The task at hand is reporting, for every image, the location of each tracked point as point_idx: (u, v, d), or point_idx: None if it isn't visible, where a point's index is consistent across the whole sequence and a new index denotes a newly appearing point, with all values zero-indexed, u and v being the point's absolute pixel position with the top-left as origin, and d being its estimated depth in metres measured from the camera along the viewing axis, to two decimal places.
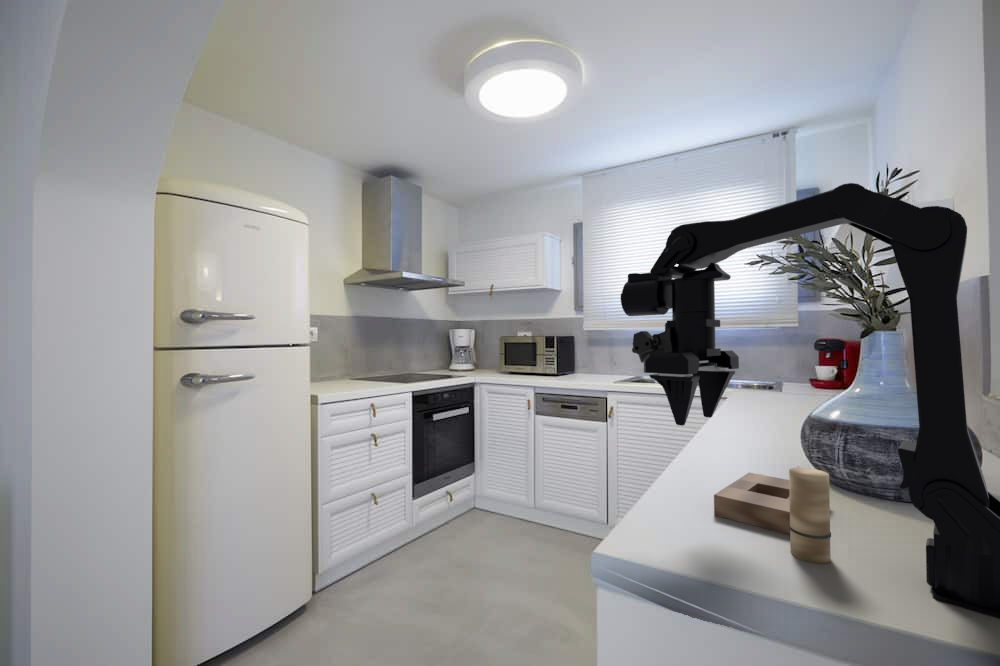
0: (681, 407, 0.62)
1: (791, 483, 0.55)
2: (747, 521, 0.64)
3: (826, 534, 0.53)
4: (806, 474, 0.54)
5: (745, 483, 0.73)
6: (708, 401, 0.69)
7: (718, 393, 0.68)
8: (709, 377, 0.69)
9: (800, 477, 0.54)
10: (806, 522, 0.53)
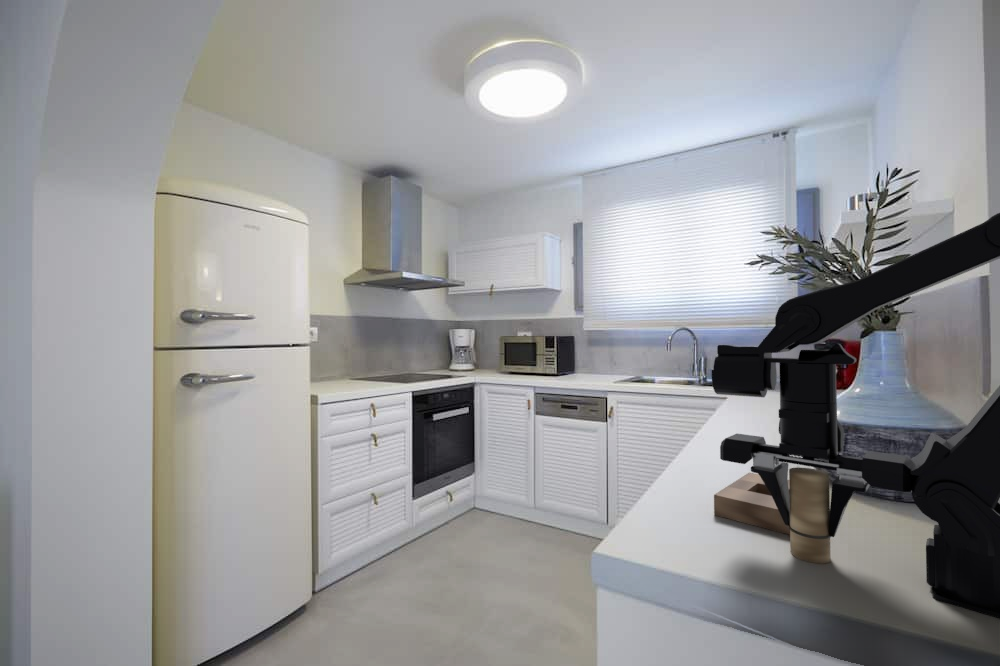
0: None
1: (791, 483, 0.55)
2: (747, 521, 0.64)
3: (826, 534, 0.53)
4: (806, 474, 0.54)
5: (745, 483, 0.73)
6: None
7: (830, 508, 0.52)
8: None
9: (800, 477, 0.54)
10: (806, 522, 0.53)
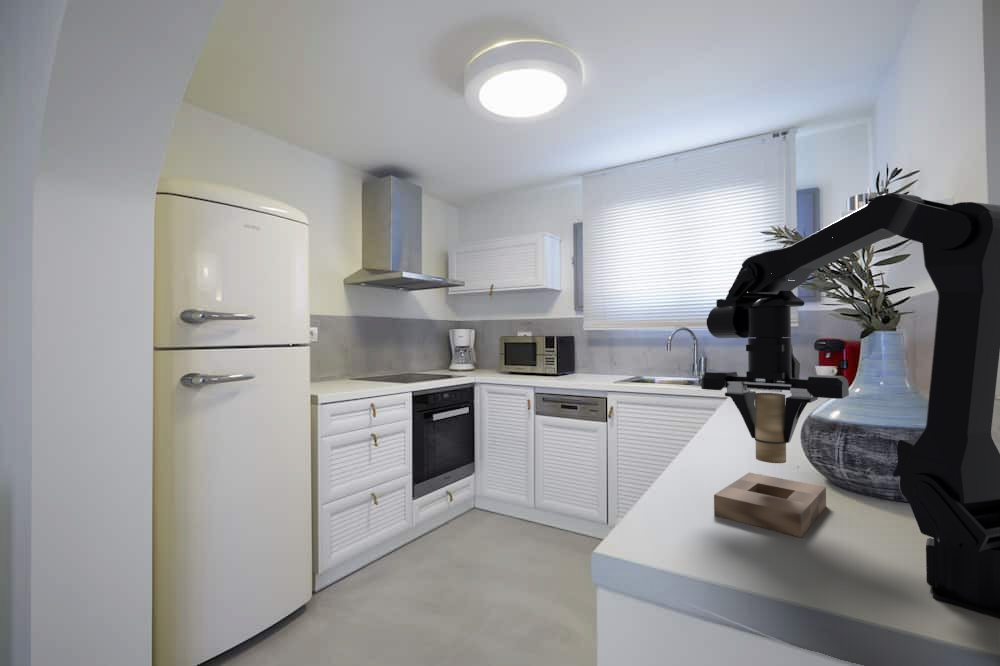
0: None
1: (756, 403, 0.70)
2: (747, 521, 0.64)
3: (782, 440, 0.67)
4: (767, 395, 0.69)
5: (745, 483, 0.73)
6: None
7: (785, 419, 0.67)
8: None
9: (763, 397, 0.68)
10: (767, 432, 0.68)
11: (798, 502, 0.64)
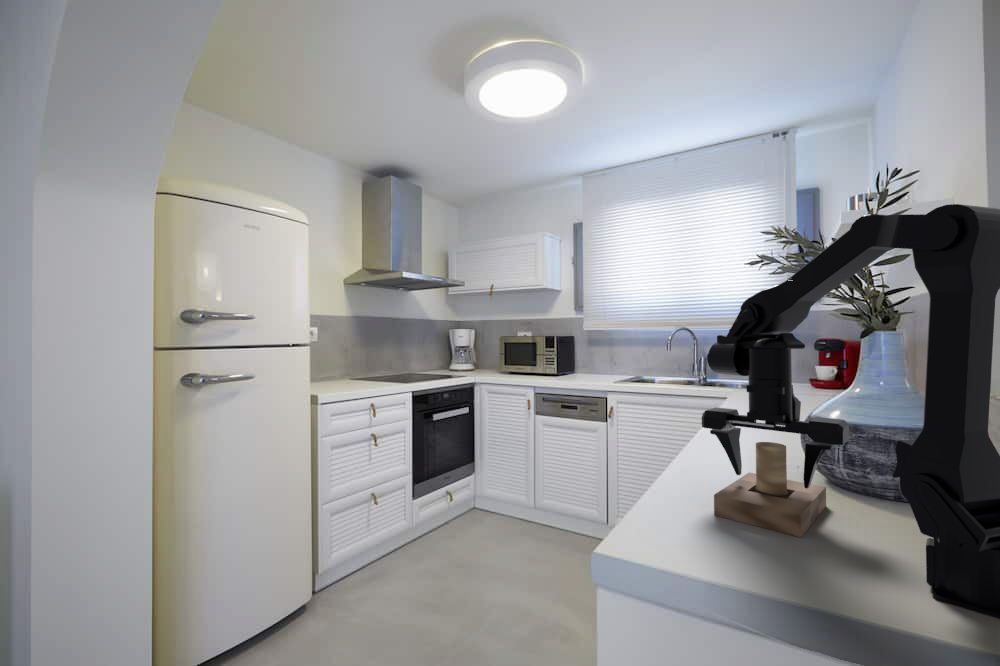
0: None
1: (757, 453, 0.70)
2: (747, 521, 0.64)
3: (783, 493, 0.67)
4: (768, 446, 0.69)
5: (745, 483, 0.73)
6: None
7: (804, 464, 0.65)
8: None
9: (763, 449, 0.68)
10: (768, 484, 0.68)
11: (798, 502, 0.64)
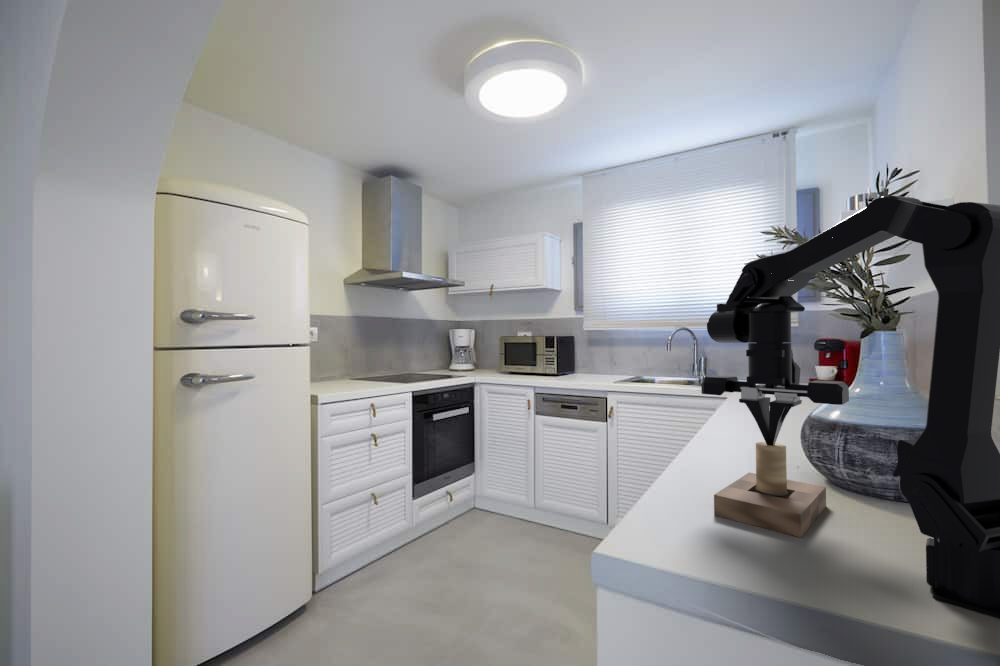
0: None
1: (757, 454, 0.70)
2: (747, 521, 0.64)
3: (783, 493, 0.67)
4: (768, 446, 0.69)
5: (745, 483, 0.73)
6: None
7: (769, 422, 0.68)
8: None
9: (763, 449, 0.68)
10: (768, 484, 0.68)
11: (798, 502, 0.64)
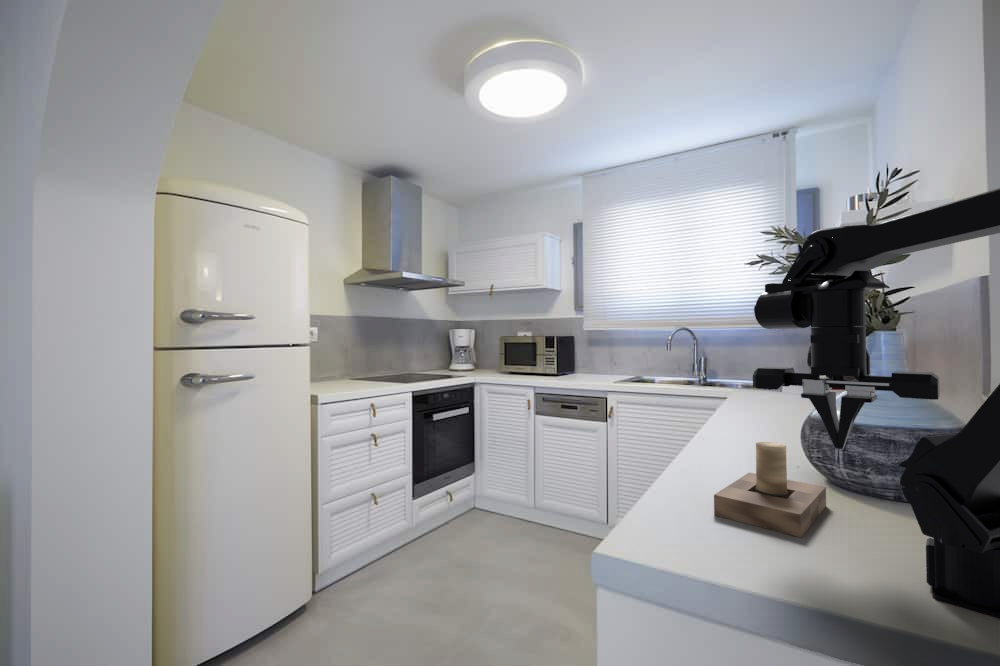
0: None
1: (757, 453, 0.70)
2: (747, 521, 0.64)
3: (783, 493, 0.67)
4: (768, 446, 0.69)
5: (745, 483, 0.73)
6: None
7: (839, 421, 0.57)
8: None
9: (764, 448, 0.68)
10: (768, 484, 0.68)
11: (798, 502, 0.64)
